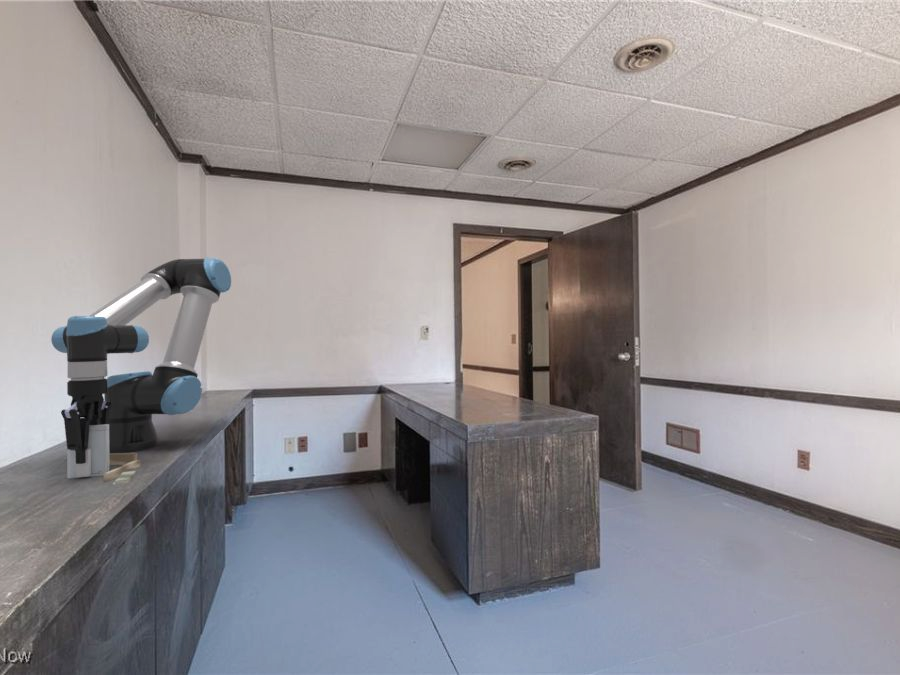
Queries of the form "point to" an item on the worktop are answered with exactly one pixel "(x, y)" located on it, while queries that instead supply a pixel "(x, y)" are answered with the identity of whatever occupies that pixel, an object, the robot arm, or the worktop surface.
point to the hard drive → (93, 452)
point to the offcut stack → (125, 477)
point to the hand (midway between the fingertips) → (88, 473)
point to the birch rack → (123, 459)
